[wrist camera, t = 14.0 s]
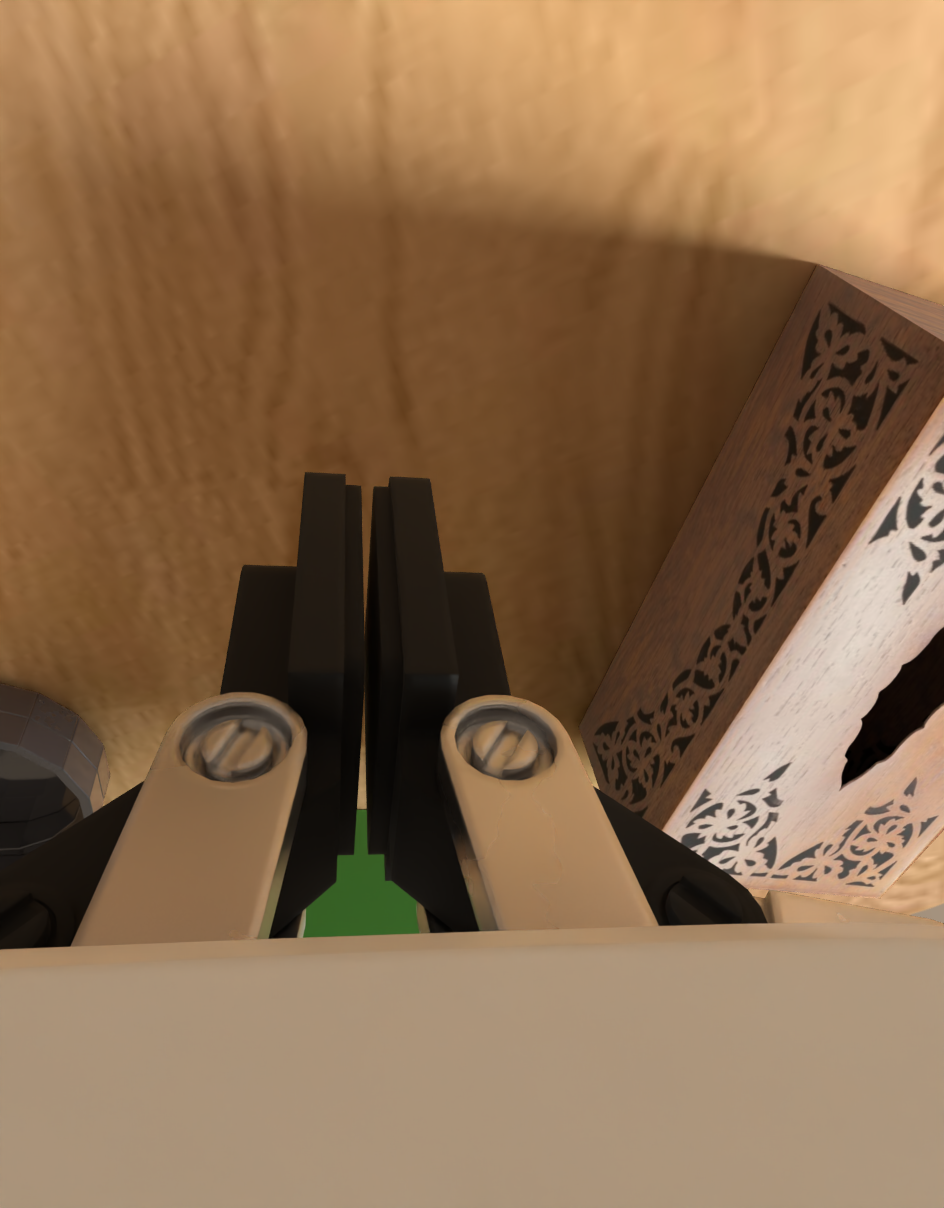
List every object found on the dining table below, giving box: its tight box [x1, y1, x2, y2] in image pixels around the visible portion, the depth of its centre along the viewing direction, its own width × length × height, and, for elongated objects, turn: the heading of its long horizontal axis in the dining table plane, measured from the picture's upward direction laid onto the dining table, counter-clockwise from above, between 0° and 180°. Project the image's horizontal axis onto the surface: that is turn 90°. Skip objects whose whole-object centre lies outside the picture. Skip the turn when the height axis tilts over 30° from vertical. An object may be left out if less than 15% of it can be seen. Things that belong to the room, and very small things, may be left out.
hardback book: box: [303, 810, 420, 938], centre depth 42 cm, size 18×7×24 cm, turn 81°
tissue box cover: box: [579, 264, 944, 898], centre depth 39 cm, size 26×14×10 cm, turn 163°
